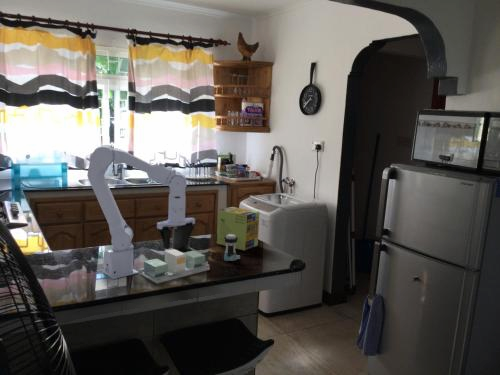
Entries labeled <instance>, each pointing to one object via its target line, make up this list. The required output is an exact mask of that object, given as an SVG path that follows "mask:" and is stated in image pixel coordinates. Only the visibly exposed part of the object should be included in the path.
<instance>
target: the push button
mask: <svg viewBox="0 0 500 375" xmlns="http://www.w3.org/2000/svg"><path fill="white" fill-rule="evenodd" d="M224 239H225V242H226V246H225V251H224V253H223V260H224V262H229V261H234V262H235V261H237V260H238V259H239V260H240V259H241V257H239V255H237V252H236V248H235V243H236V242H237V239H238V237H236V235H234V234H227V236H225V237H224ZM228 244H229V245H228Z"/></svg>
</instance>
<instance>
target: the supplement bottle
mask: <svg viewBox="0 0 500 375" xmlns="http://www.w3.org/2000/svg"><path fill="white" fill-rule="evenodd" d="M171 244H172V249H175V250H178V251H180V252H187V251H189V249H190V239H189V240H188V244H187V245H184V244H183V243H182V229H181V225H180V226H174V227H173V228H172V242H171Z"/></svg>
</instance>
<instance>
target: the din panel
mask: <svg viewBox="0 0 500 375" xmlns="http://www.w3.org/2000/svg"><path fill="white" fill-rule="evenodd" d="M184 253H185V254H186V265H185V270H184V271H180V272H176V273H175V272H173V271H171V270H169V269H168V264H167V263H165V261H163V260H161V259H158V258H153V259H148V260H145V261H143V267H142V268H139V275H140V276H142V277H144V278H146V279H148V280H149V281H151V282H153V283H155V284H161V283H165V282H169V281H173V280H175V279H179V278H184V277H186V276H191V275H194V274H199V273H202V272H206V271H209V270H210V269H211V268H210V264H206V255H205V254H203V253H202V252H201V253H200V252H198V251H197V250H191V251H189V250H188V251H184Z"/></svg>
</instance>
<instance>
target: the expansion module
mask: <svg viewBox="0 0 500 375" xmlns="http://www.w3.org/2000/svg"><path fill="white" fill-rule="evenodd" d="M164 262H165V263H167V264H168V269H169V270H171V271H173V272H175V273H176V272H180V271H184V270H185V265H186V254H185V252H183V251H178V250H175V249H173V248H172V249H167V250H164Z"/></svg>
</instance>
